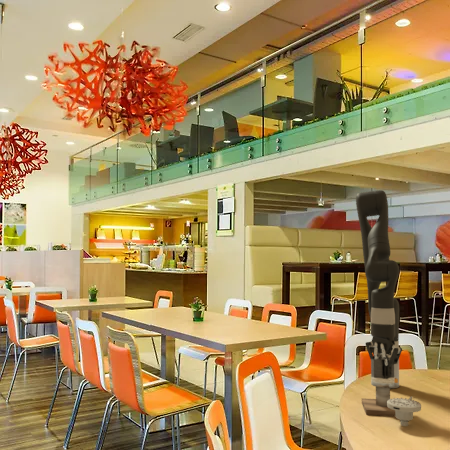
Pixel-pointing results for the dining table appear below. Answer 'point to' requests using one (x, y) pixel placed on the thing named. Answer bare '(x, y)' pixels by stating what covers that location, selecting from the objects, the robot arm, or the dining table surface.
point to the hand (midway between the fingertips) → (383, 375)
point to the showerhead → (404, 409)
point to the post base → (375, 408)
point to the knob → (381, 374)
